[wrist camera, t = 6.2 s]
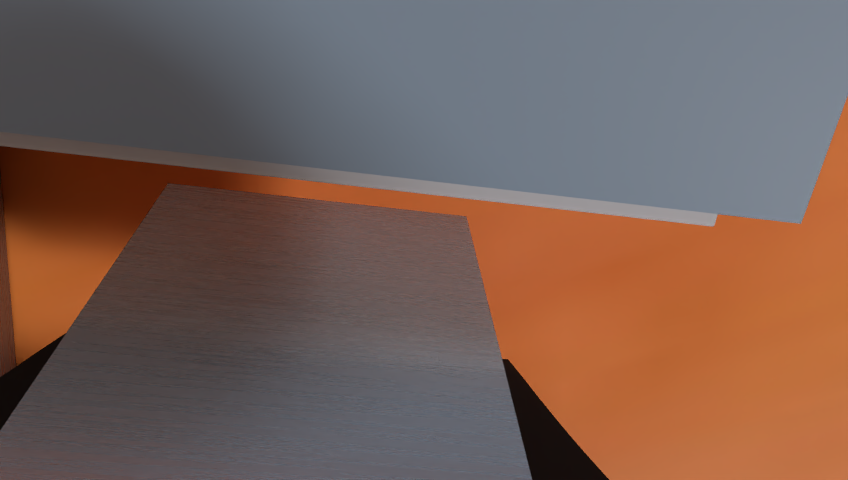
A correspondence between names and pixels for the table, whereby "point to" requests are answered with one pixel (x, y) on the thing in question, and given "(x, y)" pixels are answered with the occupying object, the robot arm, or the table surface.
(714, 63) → the fixed jaw
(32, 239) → the table surface
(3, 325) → the guide rail
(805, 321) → the table surface
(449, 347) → the block
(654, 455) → the table surface
